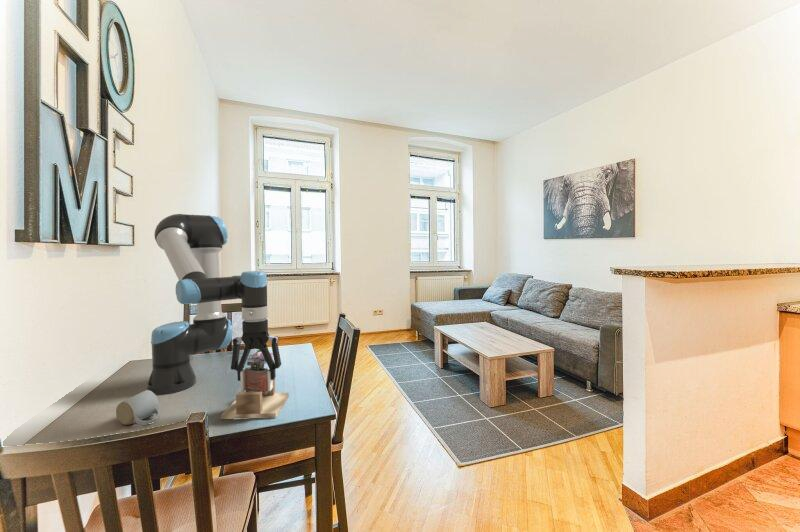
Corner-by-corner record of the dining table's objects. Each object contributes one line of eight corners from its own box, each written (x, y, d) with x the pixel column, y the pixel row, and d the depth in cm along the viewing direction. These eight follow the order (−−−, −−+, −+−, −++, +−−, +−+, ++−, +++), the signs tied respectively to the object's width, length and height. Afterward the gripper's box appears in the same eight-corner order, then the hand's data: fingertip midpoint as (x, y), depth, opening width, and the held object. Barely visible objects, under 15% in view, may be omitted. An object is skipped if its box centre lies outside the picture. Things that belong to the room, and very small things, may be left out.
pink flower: (246, 362, 160) (269, 361, 153) (244, 349, 160) (267, 348, 153) (257, 358, 166) (279, 357, 159) (255, 346, 166) (278, 345, 159)
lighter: (270, 391, 111) (270, 360, 110) (263, 395, 108) (262, 364, 107) (250, 388, 113) (250, 358, 113) (243, 392, 110) (242, 361, 110)
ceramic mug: (114, 424, 101) (113, 399, 100) (142, 411, 108) (141, 388, 108) (140, 430, 97) (139, 404, 97) (167, 417, 105) (167, 392, 105)
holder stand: (221, 419, 103) (220, 395, 103) (241, 398, 118) (240, 376, 118) (275, 418, 104) (275, 393, 104) (288, 396, 119) (288, 375, 119)
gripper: (216, 322, 105) (218, 395, 106) (284, 321, 106) (286, 393, 107) (227, 317, 113) (229, 386, 114) (290, 316, 114) (292, 384, 115)
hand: (257, 389), depth 111 cm, fingers closed on lighter, 8 cm apart
